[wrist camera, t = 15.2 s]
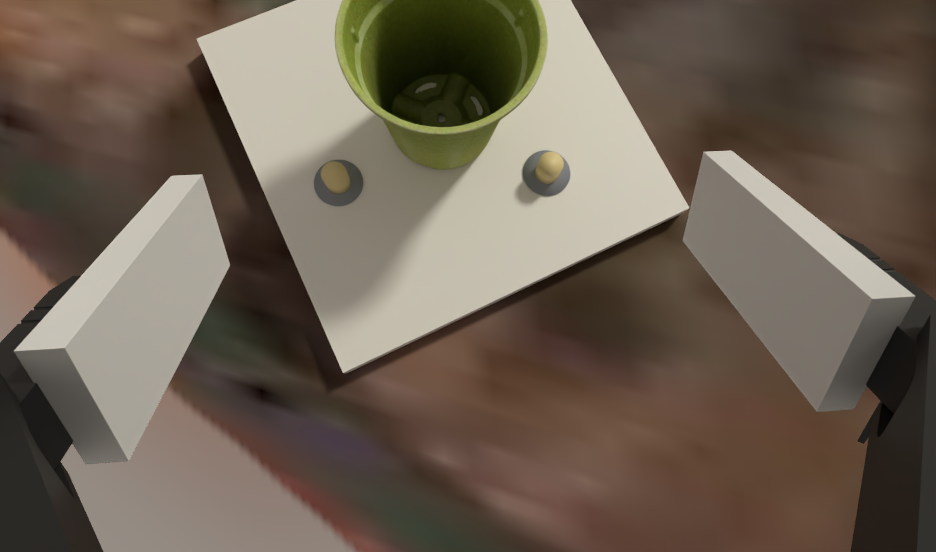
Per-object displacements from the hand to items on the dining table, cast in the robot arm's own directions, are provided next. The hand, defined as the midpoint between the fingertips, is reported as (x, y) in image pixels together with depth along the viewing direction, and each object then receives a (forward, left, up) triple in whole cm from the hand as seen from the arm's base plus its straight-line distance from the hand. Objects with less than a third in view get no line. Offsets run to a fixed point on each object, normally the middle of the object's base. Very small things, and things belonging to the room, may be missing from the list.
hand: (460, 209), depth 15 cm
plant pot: (-4, -10, -16) cm, 20 cm away
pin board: (-4, -10, -17) cm, 20 cm away
